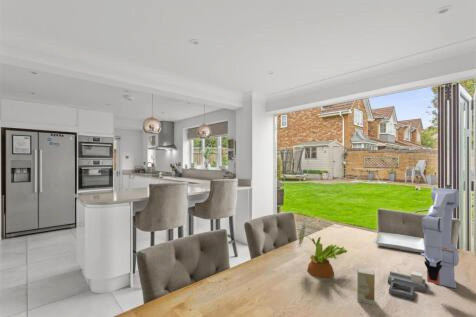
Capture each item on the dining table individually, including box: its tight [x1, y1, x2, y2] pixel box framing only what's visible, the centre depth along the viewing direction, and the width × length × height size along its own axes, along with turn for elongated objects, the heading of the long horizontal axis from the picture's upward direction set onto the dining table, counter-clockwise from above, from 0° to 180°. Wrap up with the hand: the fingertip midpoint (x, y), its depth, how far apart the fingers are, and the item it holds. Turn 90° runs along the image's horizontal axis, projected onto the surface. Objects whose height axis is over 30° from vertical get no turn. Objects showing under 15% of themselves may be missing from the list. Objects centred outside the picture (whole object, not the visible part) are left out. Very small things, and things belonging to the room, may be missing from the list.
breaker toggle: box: [410, 270, 423, 284], centre depth 114 cm, size 4×4×4 cm
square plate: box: [374, 231, 424, 254], centre depth 169 cm, size 27×27×4 cm
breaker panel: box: [387, 270, 426, 293], centre depth 117 cm, size 10×14×2 cm
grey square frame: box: [388, 281, 415, 301], centre depth 109 cm, size 8×8×2 cm
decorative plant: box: [297, 223, 348, 279], centre depth 128 cm, size 27×24×25 cm
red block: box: [426, 268, 440, 285], centre depth 104 cm, size 4×4×5 cm
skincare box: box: [356, 267, 376, 305], centre depth 103 cm, size 6×4×12 cm
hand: (433, 277), depth 104 cm, fingers closed on red block, 4 cm apart
